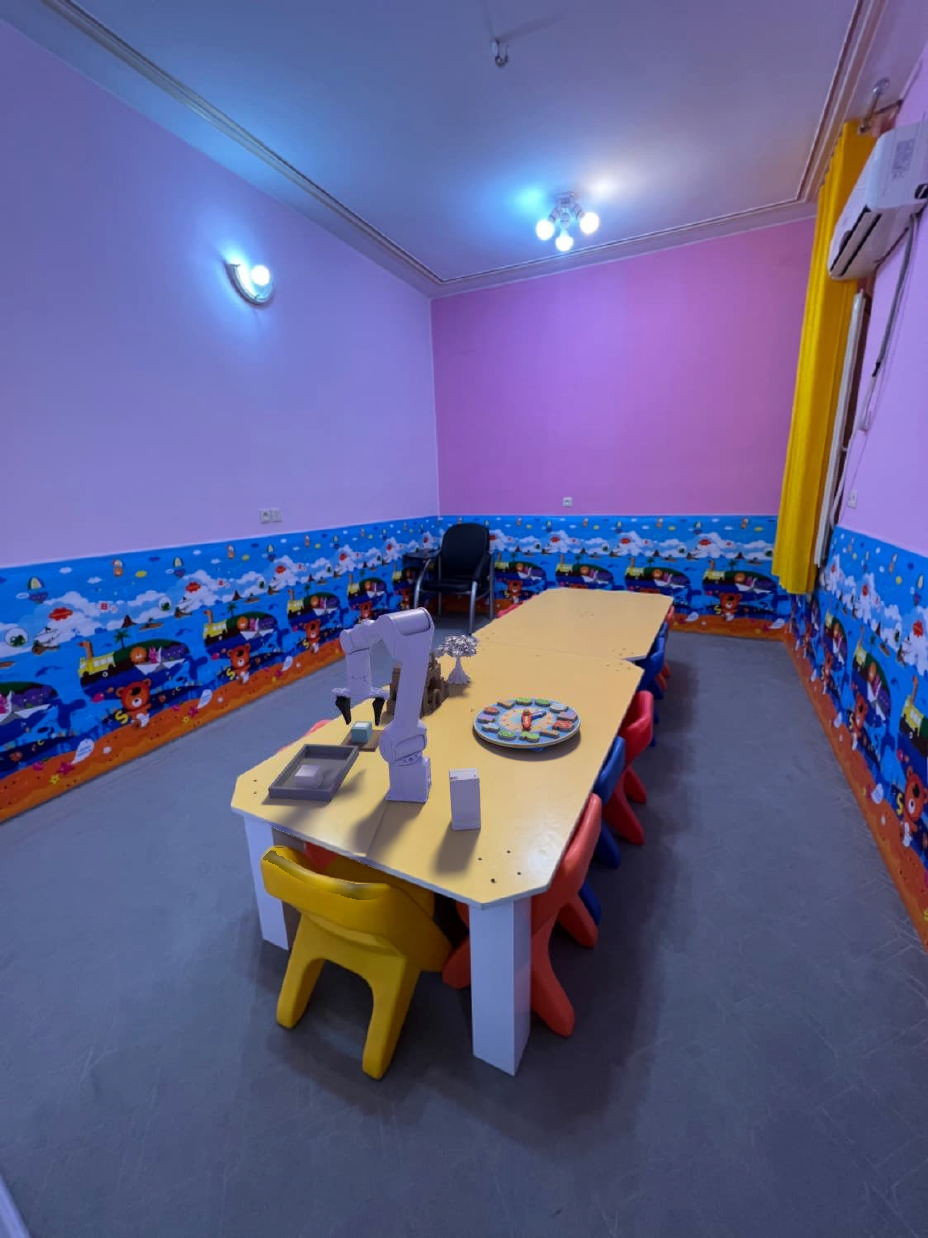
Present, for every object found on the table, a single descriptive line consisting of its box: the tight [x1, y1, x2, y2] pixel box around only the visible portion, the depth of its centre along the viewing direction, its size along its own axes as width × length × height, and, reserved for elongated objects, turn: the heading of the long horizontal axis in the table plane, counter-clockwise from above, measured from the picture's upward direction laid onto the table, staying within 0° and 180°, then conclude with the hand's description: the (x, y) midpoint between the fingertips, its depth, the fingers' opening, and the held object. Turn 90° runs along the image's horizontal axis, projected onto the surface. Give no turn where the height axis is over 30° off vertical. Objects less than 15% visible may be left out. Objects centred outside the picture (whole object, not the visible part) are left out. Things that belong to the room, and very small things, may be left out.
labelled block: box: [350, 720, 373, 743], centre depth 134 cm, size 4×4×4 cm
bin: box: [267, 743, 360, 802], centre depth 119 cm, size 15×20×3 cm
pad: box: [339, 729, 383, 752], centre depth 135 cm, size 10×10×1 cm
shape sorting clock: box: [473, 697, 582, 753], centre depth 140 cm, size 31×30×6 cm
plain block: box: [295, 765, 323, 789], centre depth 114 cm, size 4×4×4 cm
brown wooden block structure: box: [385, 650, 450, 718], centre depth 156 cm, size 22×15×19 cm, turn 152°
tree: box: [433, 635, 479, 685], centre depth 174 cm, size 18×16×17 cm
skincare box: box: [448, 767, 482, 831], centre depth 100 cm, size 6×4×12 cm
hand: (363, 723), depth 125 cm, fingers open, 7 cm apart
